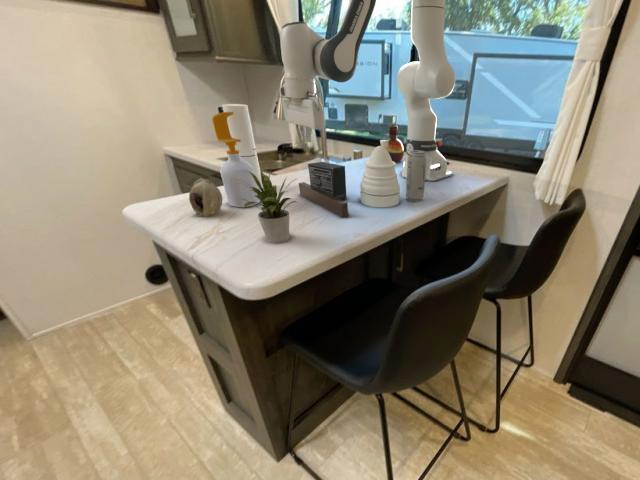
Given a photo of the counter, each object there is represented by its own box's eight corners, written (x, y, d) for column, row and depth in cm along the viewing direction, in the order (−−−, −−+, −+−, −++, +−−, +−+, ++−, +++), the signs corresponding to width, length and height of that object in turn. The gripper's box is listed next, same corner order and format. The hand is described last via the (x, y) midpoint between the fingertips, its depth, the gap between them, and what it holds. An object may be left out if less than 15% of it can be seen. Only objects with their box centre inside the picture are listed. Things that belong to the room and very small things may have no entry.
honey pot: (377, 192, 114) (376, 136, 104) (407, 200, 109) (410, 141, 98) (352, 201, 106) (349, 140, 95) (383, 210, 100) (384, 146, 90)
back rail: (305, 194, 110) (304, 182, 108) (348, 216, 94) (347, 202, 92) (300, 195, 109) (298, 183, 107) (342, 217, 93) (341, 203, 91)
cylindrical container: (266, 185, 117) (251, 104, 103) (257, 191, 111) (240, 106, 97) (247, 184, 117) (229, 103, 103) (237, 189, 111) (217, 105, 97)
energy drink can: (422, 202, 107) (425, 153, 99) (404, 200, 108) (406, 152, 100) (424, 197, 112) (428, 150, 104) (407, 195, 113) (409, 149, 105)
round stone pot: (201, 218, 95) (185, 183, 91) (231, 211, 96) (217, 176, 93) (192, 220, 86) (175, 181, 83) (226, 212, 88) (210, 173, 84)
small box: (348, 198, 108) (346, 165, 102) (334, 203, 103) (332, 168, 97) (324, 192, 112) (321, 160, 106) (310, 197, 108) (306, 163, 102)
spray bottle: (241, 209, 95) (218, 114, 81) (222, 203, 99) (197, 111, 85) (266, 202, 102) (249, 112, 88) (247, 196, 105) (228, 109, 91)
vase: (405, 159, 163) (407, 125, 155) (401, 164, 154) (402, 127, 146) (384, 157, 165) (384, 123, 156) (378, 162, 156) (378, 126, 147)
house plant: (229, 240, 78) (209, 168, 69) (275, 223, 88) (263, 158, 78) (269, 255, 72) (253, 180, 63) (314, 235, 82) (306, 167, 73)
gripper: (328, 93, 93) (331, 145, 101) (295, 89, 106) (300, 136, 114) (308, 93, 90) (313, 147, 98) (277, 89, 102) (283, 137, 110)
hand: (306, 141), depth 106 cm, fingers closed
